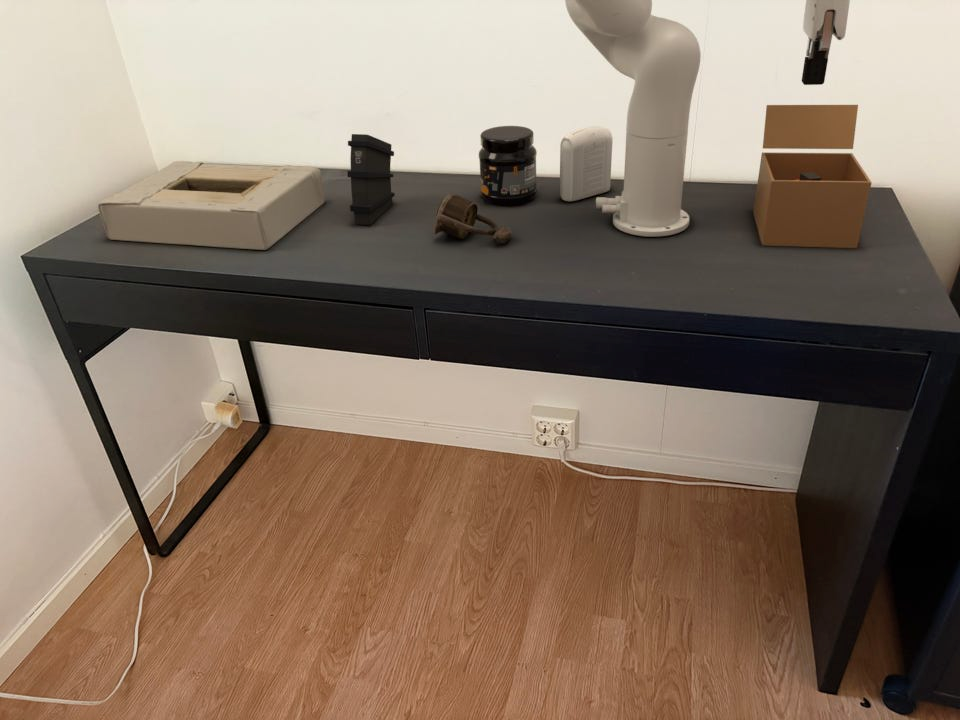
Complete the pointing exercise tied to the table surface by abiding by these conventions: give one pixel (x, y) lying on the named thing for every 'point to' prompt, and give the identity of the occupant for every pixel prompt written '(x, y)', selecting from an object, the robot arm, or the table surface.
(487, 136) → the supplement container
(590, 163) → the white rounded upright block
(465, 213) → the brown knobbed piece
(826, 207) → the carton
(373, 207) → the black banded case
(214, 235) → the box
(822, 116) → the flap
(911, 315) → the table surface
